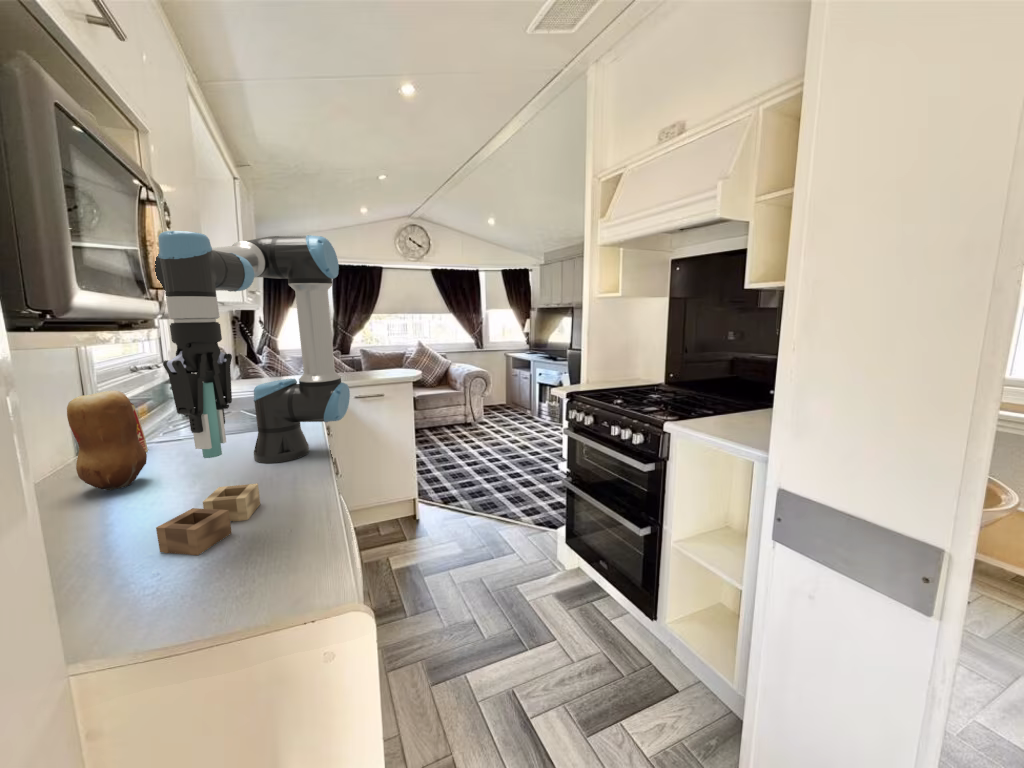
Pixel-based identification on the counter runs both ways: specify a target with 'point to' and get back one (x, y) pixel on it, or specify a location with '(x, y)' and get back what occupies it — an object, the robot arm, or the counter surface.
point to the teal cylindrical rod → (211, 421)
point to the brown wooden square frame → (193, 531)
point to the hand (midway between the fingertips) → (211, 445)
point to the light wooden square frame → (235, 500)
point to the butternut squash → (106, 440)
